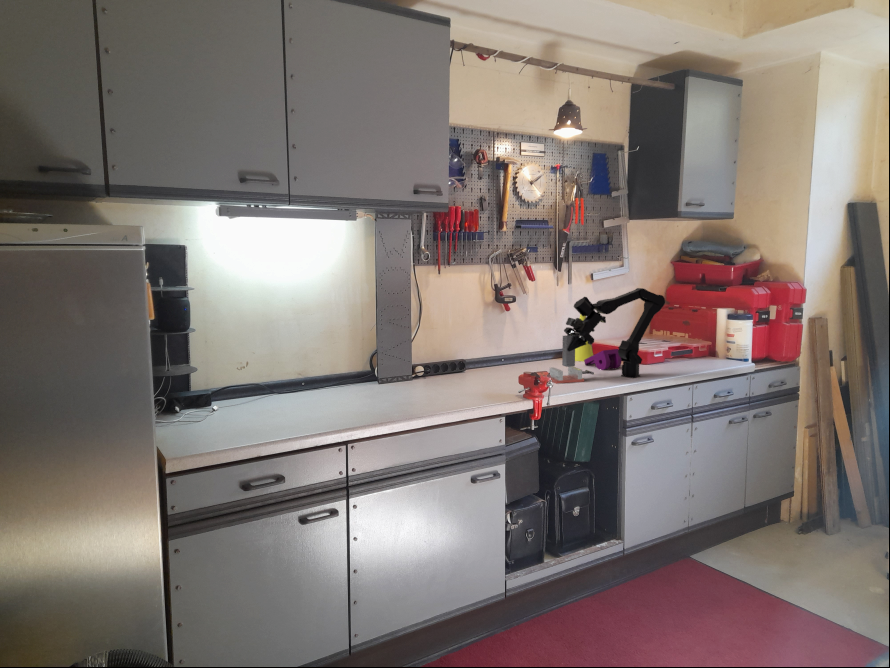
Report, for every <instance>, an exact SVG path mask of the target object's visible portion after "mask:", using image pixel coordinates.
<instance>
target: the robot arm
mask: <svg viewBox="0 0 890 668" xmlns="http://www.w3.org/2000/svg"><path fill="white" fill-rule="evenodd" d="M638 299H640V300H641V301H642V302H644V303H643V312H642V313H641V315H640V317H639V319H638V321H637V323H636V324H635V326H634V328H633V330H632V332H631V334H630V336H629V338H628V339H627V340H623V339H622V341H621V342H620V345H619V346H618V347H617V349H618V354H619V356H620V357H621V362H622V364H621V375H620V376H621V377H627V378H632V377H633V378H632V379H634V378H637V376H638V377H640V375H641V374H640V364H642V362H643V358H642V357H641V356H640V355H639V351H640V343H641V340H642V339H643V337H644V335H645V333H646V331H647V330H648V328H649V325H651V324H650V323H651V322H652V320H653V318H654V317H655V316H656V314H658V312H660V311H661V310H662V309H663V307H664V306H665V305H666V299H665V296H663V295H662V294H658V293H657V294H656V293H655V292H651V291H649V290H647V289H646V288H640V287H637V288H635V289H633V290H631V291H628V292H626V293H623V294H621V295H618V296H616V297H612V298H605V299H600V300H597V302H596V303H592V302H591V301H590V299H588V297H587V296H583V297H582V298H580V299H578V300H577V301H576V302H575V303H574V304H573V308H574V309H575V310H576V311H577V312H578V313H579V314H581V315H582V316H586V318H585V319H584V320H583V321H582V320H581V319H579V318H580V317H576V318H572V317H568V318H567V320H566V322H565V325H567V326H569V327H565V328H564V329H563V332H564V333H565V334H566V336H567V335H572V336H575V339H574V341H573V342H572V344H571V345H570V346H569V348H568V351H572V350H574V349H576V348H579V347H581V346H584V345H586V342H587V341H588V344H589V345H591V346H593V344H594V343H595V338H594V337H593V336H592V334H591V332H592V333H594V332H595V331H596V330H595V328H596V327H597V326H598V325H599V324H600V323H603V324H606V323H607V321H606V316H603V315H610V314H611V313H613V312H615V311H616V310H617V309H618V308H619V307H621V306H624V305H626V304H629V303H632V302H634V301H636V300H638Z"/></svg>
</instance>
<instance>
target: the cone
mask: <svg viewBox="0 0 890 668" xmlns="http://www.w3.org/2000/svg"><path fill="white" fill-rule="evenodd" d="M579 314H580V313H579ZM586 317H587V316H582V315H581V314H580V315H579V317H578V318H579V319H581V320H582V321H583V320H584V319H585V318H586ZM592 346H593V345H589V344H588V341H587V342H586V345H584V346H581V347H579V348H576V349H575V362H584V360H585V359H587V358H589V357H591V356H593V355H594V353H593V352H594V351H593V347H592Z"/></svg>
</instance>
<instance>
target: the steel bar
mask: <svg viewBox="0 0 890 668" xmlns="http://www.w3.org/2000/svg"><path fill="white" fill-rule="evenodd" d="M574 339H575V336H572V335H567V334H566V335H562V355H561V356H562V358H561V359H562V361H561V363H562V366H563V367H566V368H568V367H571V366H573V367H575V366H576V361H575V349H574V350H572V351H568V348H569V346H570V345H571V344H572V342H573V341H574Z"/></svg>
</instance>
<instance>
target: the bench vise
mask: <svg viewBox="0 0 890 668" xmlns="http://www.w3.org/2000/svg"><path fill="white" fill-rule="evenodd" d="M567 369H568V371H567V373H568V374H567V375H564V370H561V369H558V368H557V367H554V366H553V367H549V373H550V375H551V380H552V381H551V383H553V384H570V383H571V384H572V383H583V382H585V378H583V375H589V374H590V375H594V374H595V372H593V371H591V370H588V369H585V370H583V369H580V368H578V367H575V366H571V367H567Z"/></svg>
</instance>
